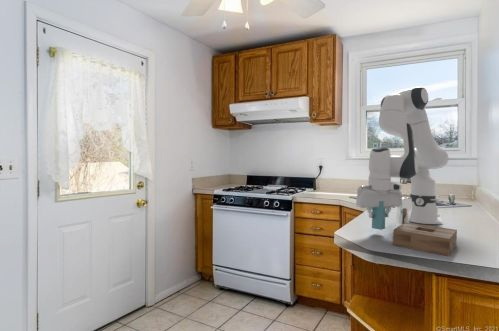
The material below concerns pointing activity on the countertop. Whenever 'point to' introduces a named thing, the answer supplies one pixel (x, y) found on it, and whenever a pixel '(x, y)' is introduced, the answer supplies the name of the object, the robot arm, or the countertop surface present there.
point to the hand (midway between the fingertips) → (378, 217)
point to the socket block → (425, 238)
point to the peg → (379, 216)
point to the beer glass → (403, 211)
